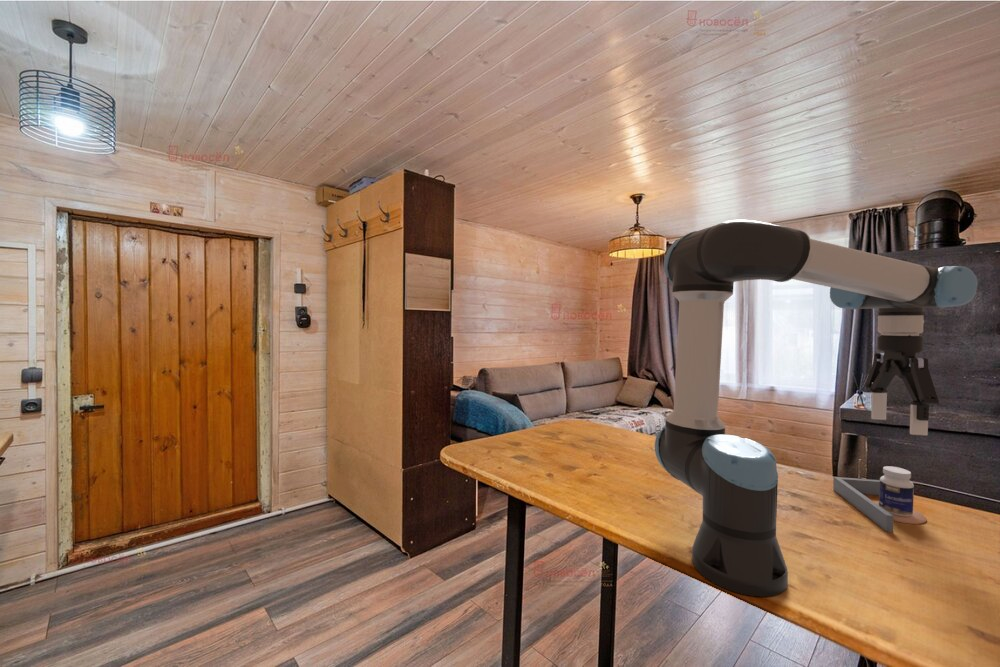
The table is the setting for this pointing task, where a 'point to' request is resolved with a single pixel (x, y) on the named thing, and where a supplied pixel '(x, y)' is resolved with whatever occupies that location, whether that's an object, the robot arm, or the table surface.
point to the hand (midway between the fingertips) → (897, 426)
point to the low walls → (864, 499)
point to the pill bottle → (896, 491)
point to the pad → (910, 518)
